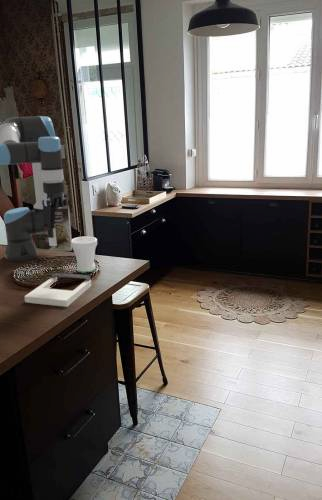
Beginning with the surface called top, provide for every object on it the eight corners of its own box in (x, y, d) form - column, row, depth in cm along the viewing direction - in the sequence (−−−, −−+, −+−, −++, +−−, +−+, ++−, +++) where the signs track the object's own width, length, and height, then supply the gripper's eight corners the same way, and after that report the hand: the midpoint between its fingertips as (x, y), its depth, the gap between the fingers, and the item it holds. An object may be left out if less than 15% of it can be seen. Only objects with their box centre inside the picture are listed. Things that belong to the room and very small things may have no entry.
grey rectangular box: (46, 252, 156) (41, 209, 151) (48, 247, 162) (44, 206, 157) (72, 251, 157) (68, 208, 152) (72, 246, 163) (69, 204, 158)
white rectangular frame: (53, 282, 173) (52, 276, 172) (91, 285, 168) (91, 280, 167) (25, 302, 155) (24, 296, 154) (67, 306, 150) (66, 300, 149)
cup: (102, 267, 189) (100, 236, 184) (94, 276, 178) (92, 243, 174) (78, 266, 191) (75, 235, 186) (69, 275, 180) (66, 243, 176)
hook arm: (54, 282, 173) (53, 272, 172) (90, 285, 168) (89, 275, 167) (52, 283, 172) (51, 273, 170) (89, 286, 167) (88, 276, 166)
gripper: (58, 177, 163) (64, 234, 169) (27, 185, 143) (35, 249, 150) (76, 177, 161) (81, 235, 167) (47, 186, 141) (53, 251, 148)
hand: (59, 242), depth 159 cm, fingers closed on grey rectangular box, 8 cm apart
